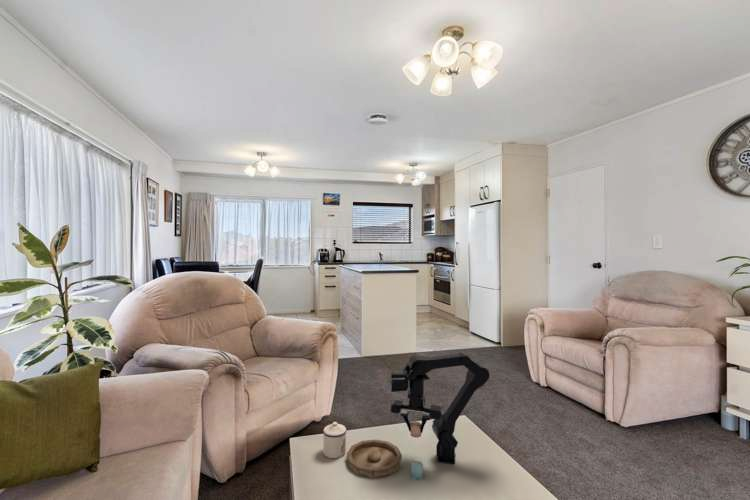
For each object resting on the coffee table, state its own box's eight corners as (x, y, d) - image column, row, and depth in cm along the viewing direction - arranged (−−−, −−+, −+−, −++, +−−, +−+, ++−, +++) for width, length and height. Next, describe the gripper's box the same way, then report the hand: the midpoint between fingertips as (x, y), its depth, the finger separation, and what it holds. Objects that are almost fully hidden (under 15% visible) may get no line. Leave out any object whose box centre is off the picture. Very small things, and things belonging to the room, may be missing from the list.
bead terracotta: (421, 433, 135) (422, 422, 135) (420, 438, 131) (420, 427, 131) (411, 431, 136) (411, 421, 136) (409, 436, 132) (409, 425, 132)
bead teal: (423, 473, 126) (423, 462, 126) (421, 480, 122) (421, 468, 122) (412, 471, 127) (412, 460, 127) (410, 478, 123) (410, 466, 123)
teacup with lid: (346, 458, 134) (347, 427, 134) (322, 459, 133) (322, 429, 133) (345, 441, 146) (345, 413, 146) (323, 443, 145) (323, 414, 145)
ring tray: (405, 451, 140) (405, 444, 140) (393, 482, 120) (393, 474, 120) (357, 442, 145) (357, 436, 145) (339, 471, 126) (339, 464, 126)
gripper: (443, 386, 139) (442, 425, 139) (397, 380, 144) (396, 418, 144) (440, 397, 128) (439, 440, 128) (390, 390, 133) (390, 431, 133)
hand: (415, 431), depth 134 cm, fingers closed on bead terracotta, 4 cm apart
